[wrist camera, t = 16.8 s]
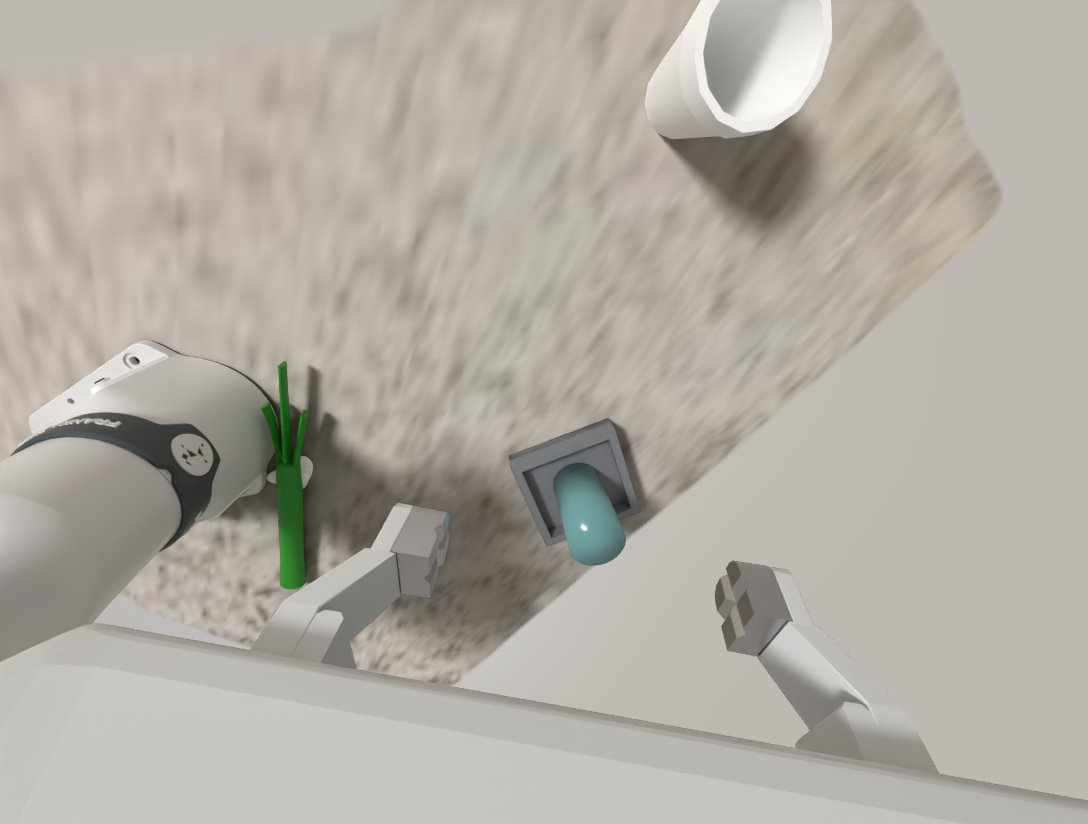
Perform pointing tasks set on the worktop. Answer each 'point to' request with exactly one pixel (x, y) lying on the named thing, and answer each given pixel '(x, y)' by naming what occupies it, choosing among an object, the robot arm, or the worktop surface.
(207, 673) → the robot arm
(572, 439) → the tray
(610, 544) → the teal cylinder
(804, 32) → the foam cup
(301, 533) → the green onion
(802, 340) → the worktop surface
